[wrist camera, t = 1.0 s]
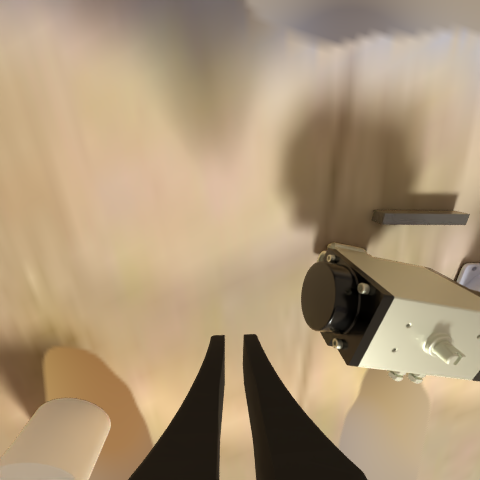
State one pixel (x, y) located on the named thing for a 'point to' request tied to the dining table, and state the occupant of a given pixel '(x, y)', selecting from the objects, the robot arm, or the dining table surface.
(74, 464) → the base with upright slab
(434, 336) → the pneumatic valve
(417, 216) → the guide rails
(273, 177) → the dining table surface
